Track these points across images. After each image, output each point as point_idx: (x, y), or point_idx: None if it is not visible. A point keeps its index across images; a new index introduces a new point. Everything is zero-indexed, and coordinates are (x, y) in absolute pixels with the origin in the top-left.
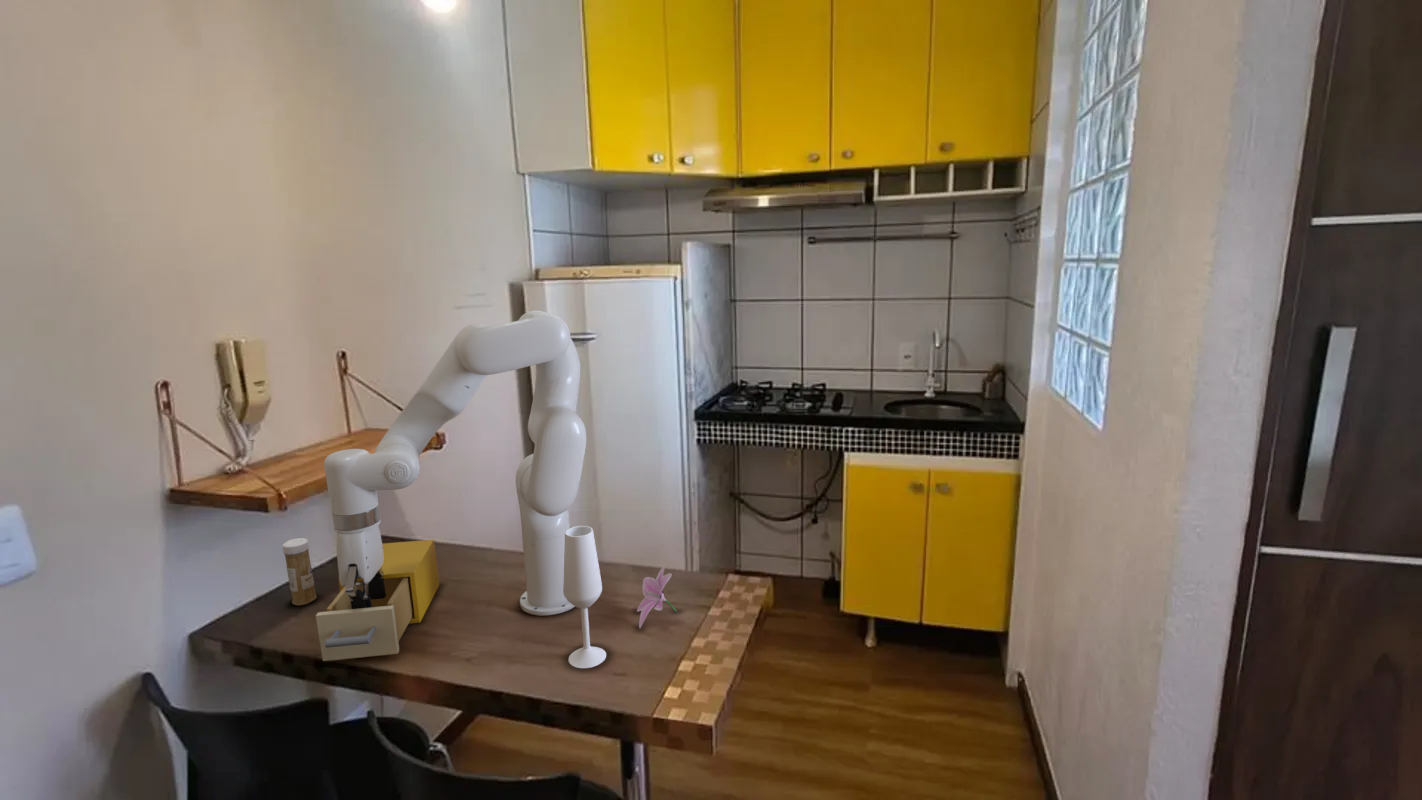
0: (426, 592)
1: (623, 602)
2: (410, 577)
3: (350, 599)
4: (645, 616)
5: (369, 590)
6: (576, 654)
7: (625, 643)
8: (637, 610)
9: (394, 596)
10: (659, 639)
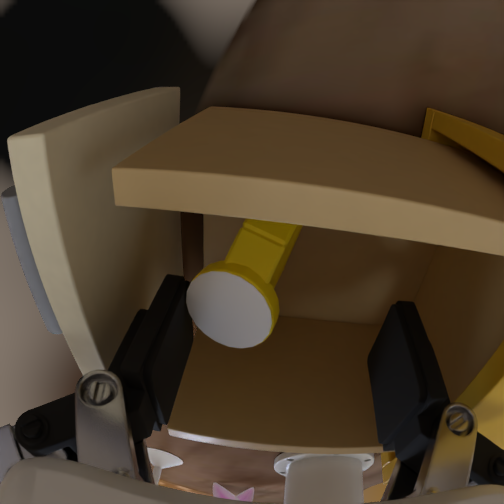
0: None
1: (280, 485)
2: (386, 460)
3: (80, 384)
4: (216, 494)
5: (401, 354)
6: (155, 457)
7: (186, 473)
8: (253, 488)
9: (228, 444)
10: (191, 482)
